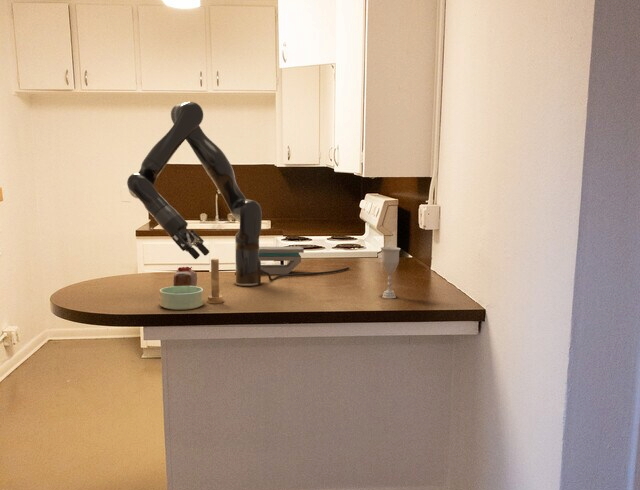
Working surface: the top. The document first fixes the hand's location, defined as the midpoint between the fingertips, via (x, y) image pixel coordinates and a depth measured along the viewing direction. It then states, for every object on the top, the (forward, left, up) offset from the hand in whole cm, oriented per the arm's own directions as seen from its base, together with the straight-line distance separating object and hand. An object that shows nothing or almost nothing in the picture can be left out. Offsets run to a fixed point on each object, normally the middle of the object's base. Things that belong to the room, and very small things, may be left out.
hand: (202, 255), depth 227 cm
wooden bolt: (-4, +2, -16) cm, 17 cm away
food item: (+3, -16, -16) cm, 23 cm away
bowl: (+8, +5, -16) cm, 19 cm away
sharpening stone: (-41, -47, -16) cm, 64 cm away
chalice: (-66, +13, -16) cm, 69 cm away
